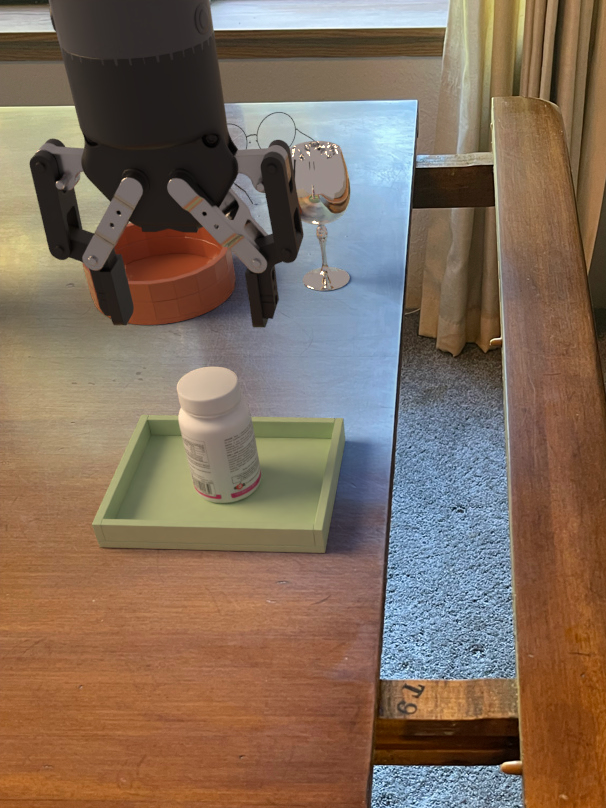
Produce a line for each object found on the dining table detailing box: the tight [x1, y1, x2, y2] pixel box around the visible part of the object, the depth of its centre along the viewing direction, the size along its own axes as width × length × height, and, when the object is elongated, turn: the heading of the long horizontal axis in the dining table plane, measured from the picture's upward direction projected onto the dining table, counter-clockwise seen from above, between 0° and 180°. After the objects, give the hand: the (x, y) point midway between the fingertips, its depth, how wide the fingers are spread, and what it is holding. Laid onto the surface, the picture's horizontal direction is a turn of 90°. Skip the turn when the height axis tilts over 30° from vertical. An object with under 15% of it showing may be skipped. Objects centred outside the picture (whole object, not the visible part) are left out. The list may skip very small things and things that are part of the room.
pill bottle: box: [176, 365, 261, 503], centre depth 64 cm, size 5×5×8 cm
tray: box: [91, 414, 346, 554], centre depth 66 cm, size 15×12×2 cm
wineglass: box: [289, 140, 352, 292], centre depth 85 cm, size 6×6×12 cm
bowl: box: [81, 222, 237, 326], centre depth 88 cm, size 13×13×4 cm
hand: (192, 320), depth 58 cm, fingers open, 8 cm apart
